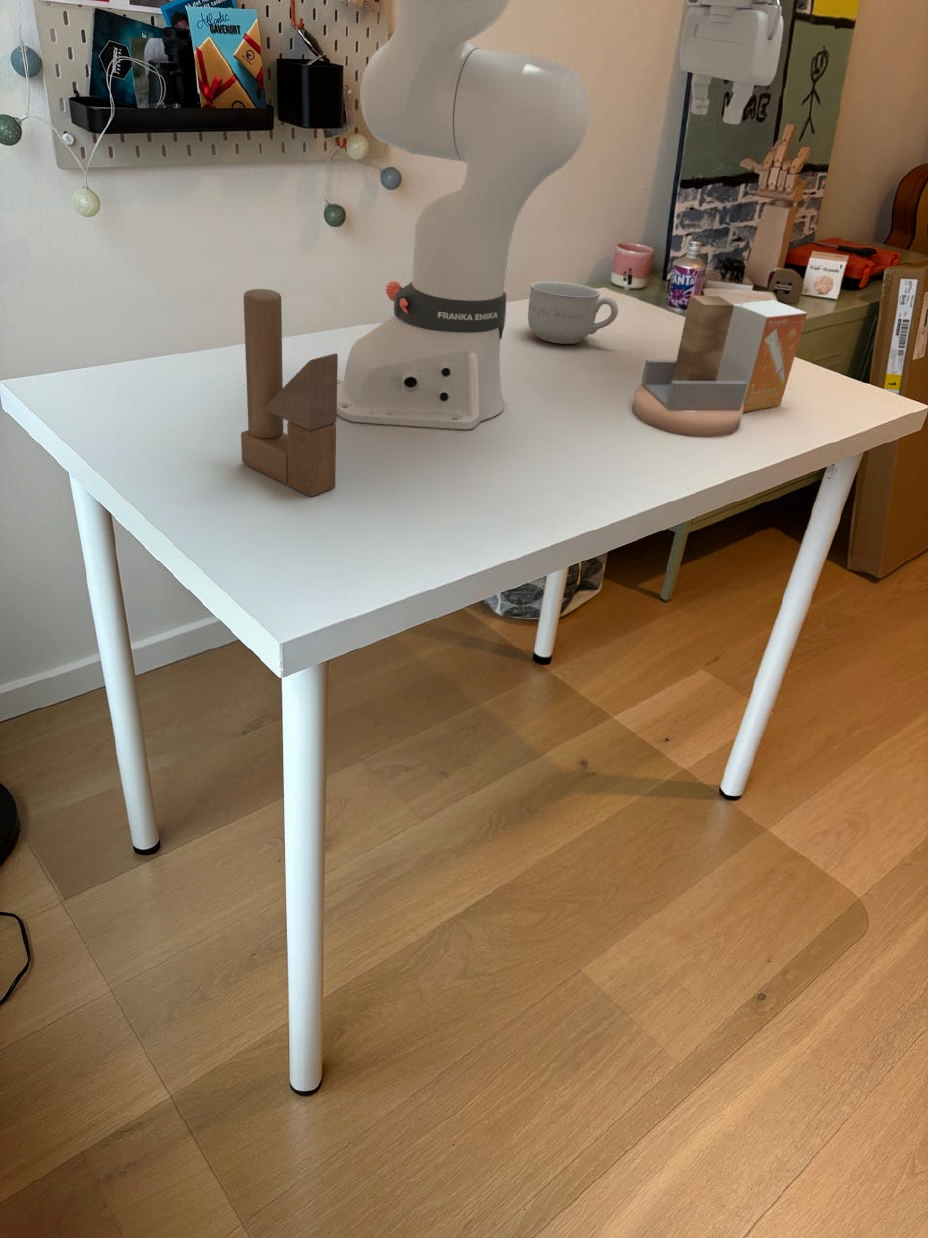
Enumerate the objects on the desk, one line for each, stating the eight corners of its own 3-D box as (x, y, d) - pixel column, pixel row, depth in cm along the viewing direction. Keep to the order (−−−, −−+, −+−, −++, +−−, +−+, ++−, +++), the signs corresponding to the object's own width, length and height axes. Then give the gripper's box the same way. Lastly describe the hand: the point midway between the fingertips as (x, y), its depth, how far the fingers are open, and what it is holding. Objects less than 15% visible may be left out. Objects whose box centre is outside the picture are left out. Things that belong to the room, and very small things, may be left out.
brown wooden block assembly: (310, 498, 96) (310, 318, 86) (240, 464, 101) (233, 290, 91) (337, 488, 98) (340, 312, 88) (267, 455, 104) (263, 285, 94)
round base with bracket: (657, 437, 118) (667, 390, 115) (616, 396, 129) (624, 352, 126) (758, 436, 121) (770, 390, 118) (710, 396, 133) (720, 354, 129)
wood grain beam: (683, 399, 122) (704, 304, 115) (670, 388, 125) (690, 295, 118) (711, 399, 123) (734, 305, 116) (698, 388, 126) (719, 296, 119)
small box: (742, 414, 128) (767, 316, 121) (708, 397, 132) (730, 302, 125) (782, 406, 132) (809, 311, 125) (747, 391, 136) (772, 298, 129)
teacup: (511, 337, 148) (517, 284, 144) (546, 324, 156) (553, 273, 151) (589, 359, 142) (598, 305, 138) (622, 345, 150) (631, 293, 145)
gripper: (807, -4, 109) (775, 131, 116) (726, -8, 125) (702, 110, 133) (758, -10, 107) (728, 127, 115) (682, -13, 124) (660, 107, 131)
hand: (714, 118), depth 124 cm, fingers open, 8 cm apart
